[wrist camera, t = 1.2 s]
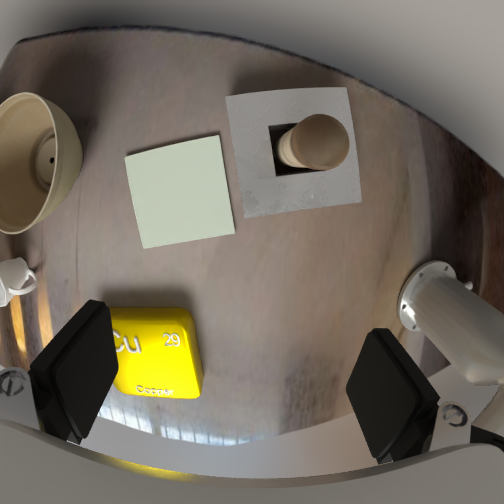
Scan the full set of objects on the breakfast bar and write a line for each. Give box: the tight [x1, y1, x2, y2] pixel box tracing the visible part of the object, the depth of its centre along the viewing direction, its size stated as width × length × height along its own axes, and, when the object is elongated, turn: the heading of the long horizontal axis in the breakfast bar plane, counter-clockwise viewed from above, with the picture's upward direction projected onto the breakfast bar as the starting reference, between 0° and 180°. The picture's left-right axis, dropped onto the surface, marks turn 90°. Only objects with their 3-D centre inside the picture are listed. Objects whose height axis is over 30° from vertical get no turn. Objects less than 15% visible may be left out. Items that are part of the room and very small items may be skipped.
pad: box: [125, 135, 235, 249], centre depth 32 cm, size 12×12×1 cm
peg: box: [273, 114, 350, 170], centre depth 25 cm, size 4×4×14 cm
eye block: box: [225, 87, 362, 218], centre depth 29 cm, size 13×13×5 cm
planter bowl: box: [0, 92, 83, 234], centre depth 25 cm, size 16×16×11 cm
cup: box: [0, 257, 37, 307], centre depth 31 cm, size 7×10×8 cm
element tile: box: [109, 307, 204, 399], centre depth 38 cm, size 15×15×5 cm
